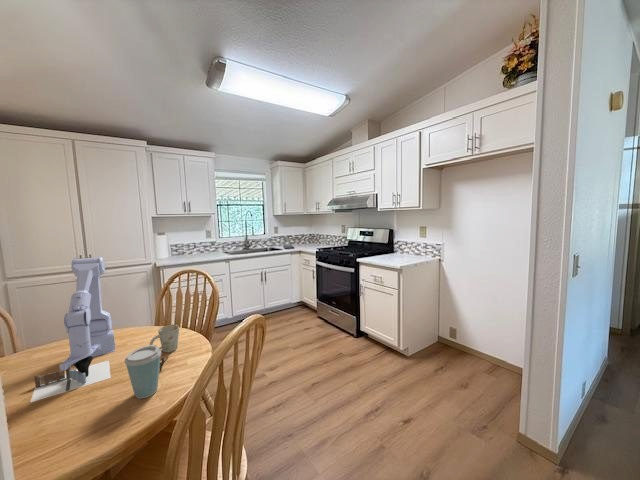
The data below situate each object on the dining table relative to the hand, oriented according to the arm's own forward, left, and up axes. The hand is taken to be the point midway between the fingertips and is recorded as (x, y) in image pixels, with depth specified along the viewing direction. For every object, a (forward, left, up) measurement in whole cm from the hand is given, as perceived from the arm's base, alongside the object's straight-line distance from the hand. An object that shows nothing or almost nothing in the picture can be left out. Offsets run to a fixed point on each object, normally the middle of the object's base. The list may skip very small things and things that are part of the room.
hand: (83, 377), depth 101 cm
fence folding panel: (+2, 0, -1) cm, 2 cm away
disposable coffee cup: (-17, +23, -2) cm, 28 cm away
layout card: (+3, -3, -1) cm, 5 cm away
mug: (-28, -5, -2) cm, 28 cm away
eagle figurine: (-21, +8, -2) cm, 23 cm away
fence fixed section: (+8, -5, -1) cm, 10 cm away
